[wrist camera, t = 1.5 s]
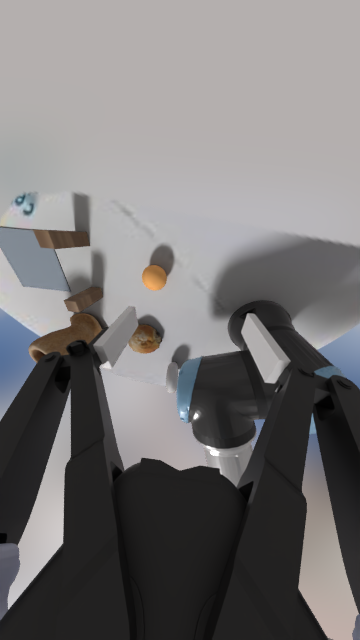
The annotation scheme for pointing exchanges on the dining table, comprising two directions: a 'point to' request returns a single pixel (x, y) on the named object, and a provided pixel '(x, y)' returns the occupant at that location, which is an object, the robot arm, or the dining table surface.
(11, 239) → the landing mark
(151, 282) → the ball
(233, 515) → the robot arm
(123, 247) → the dining table surface
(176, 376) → the donut
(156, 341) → the bread roll
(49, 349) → the brown boot
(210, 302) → the dining table surface
